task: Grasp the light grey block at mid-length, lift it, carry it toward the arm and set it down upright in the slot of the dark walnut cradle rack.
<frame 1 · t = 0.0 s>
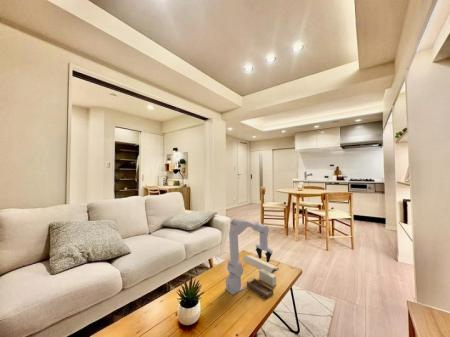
hand: (264, 260, 139), 10 cm above the table, fingers open, 7 cm apart
crown molding: (259, 265, 154), on the table
rack: (259, 290, 120), on the table
light grey block: (267, 281, 129), on the table
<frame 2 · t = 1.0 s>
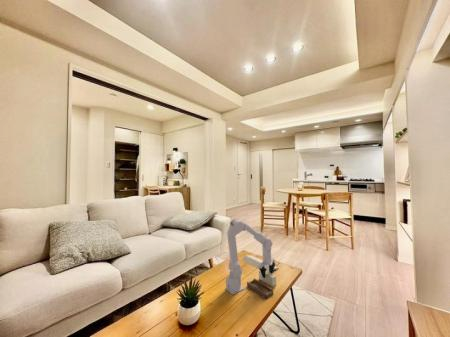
hand: (267, 275, 129), 4 cm above the table, fingers open, 7 cm apart
nothing on the table moved.
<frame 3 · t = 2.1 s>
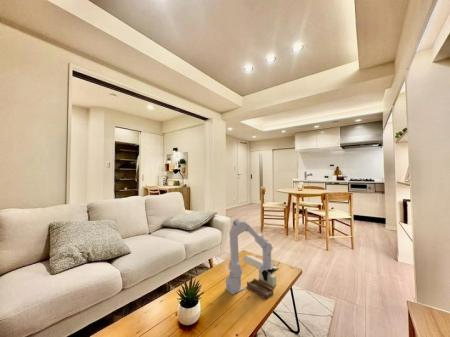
hand: (267, 279, 129), 1 cm above the table, fingers closed on light grey block, 3 cm apart
light grey block: (267, 281, 129), on the table, touching gripper
everything else where it was.
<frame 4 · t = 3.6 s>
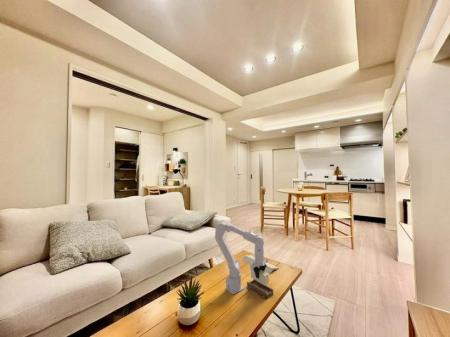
hand: (259, 276, 121), 8 cm above the table, fingers closed on light grey block, 3 cm apart
light grey block: (259, 280, 121), point 6 cm above the table, touching gripper
everything else where it was.
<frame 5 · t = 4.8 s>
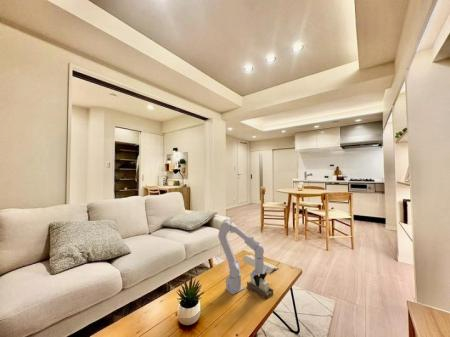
hand: (259, 284, 120), 3 cm above the table, fingers closed on light grey block, 3 cm apart
light grey block: (259, 288, 120), point 1 cm above the table, touching gripper
everything else where it was.
when the fingers open (3 cm above the table, at t = 5.3 s): light grey block stays where it is, resting on rack.
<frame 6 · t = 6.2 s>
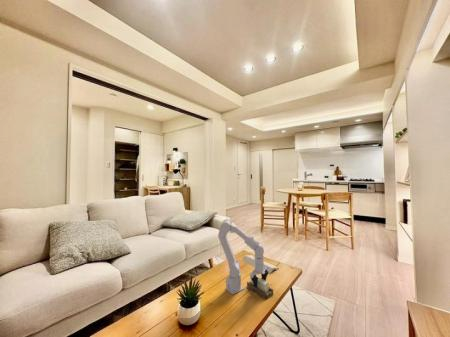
hand: (259, 284, 120), 3 cm above the table, fingers open, 7 cm apart
light grey block: (259, 288, 120), point 1 cm above the table, touching rack
everything else where it was.
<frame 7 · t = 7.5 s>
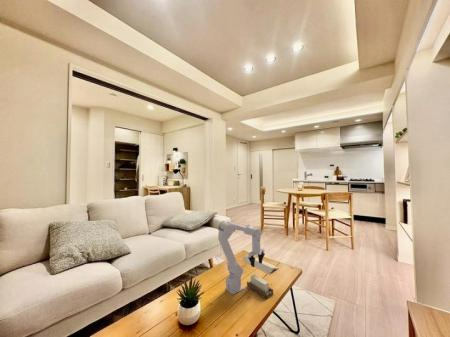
hand: (256, 264, 132), 10 cm above the table, fingers open, 7 cm apart
nothing on the table moved.
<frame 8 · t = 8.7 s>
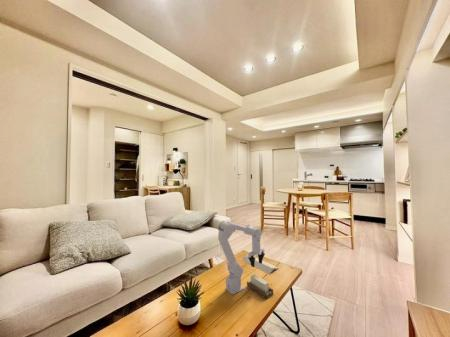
hand: (256, 264, 132), 10 cm above the table, fingers open, 7 cm apart
nothing on the table moved.
at the end: light grey block 0.1 cm off-centre on the rack, point 0.8 cm above the rack's base; light grey block tilted 0°; the gripper is holding nothing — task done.
